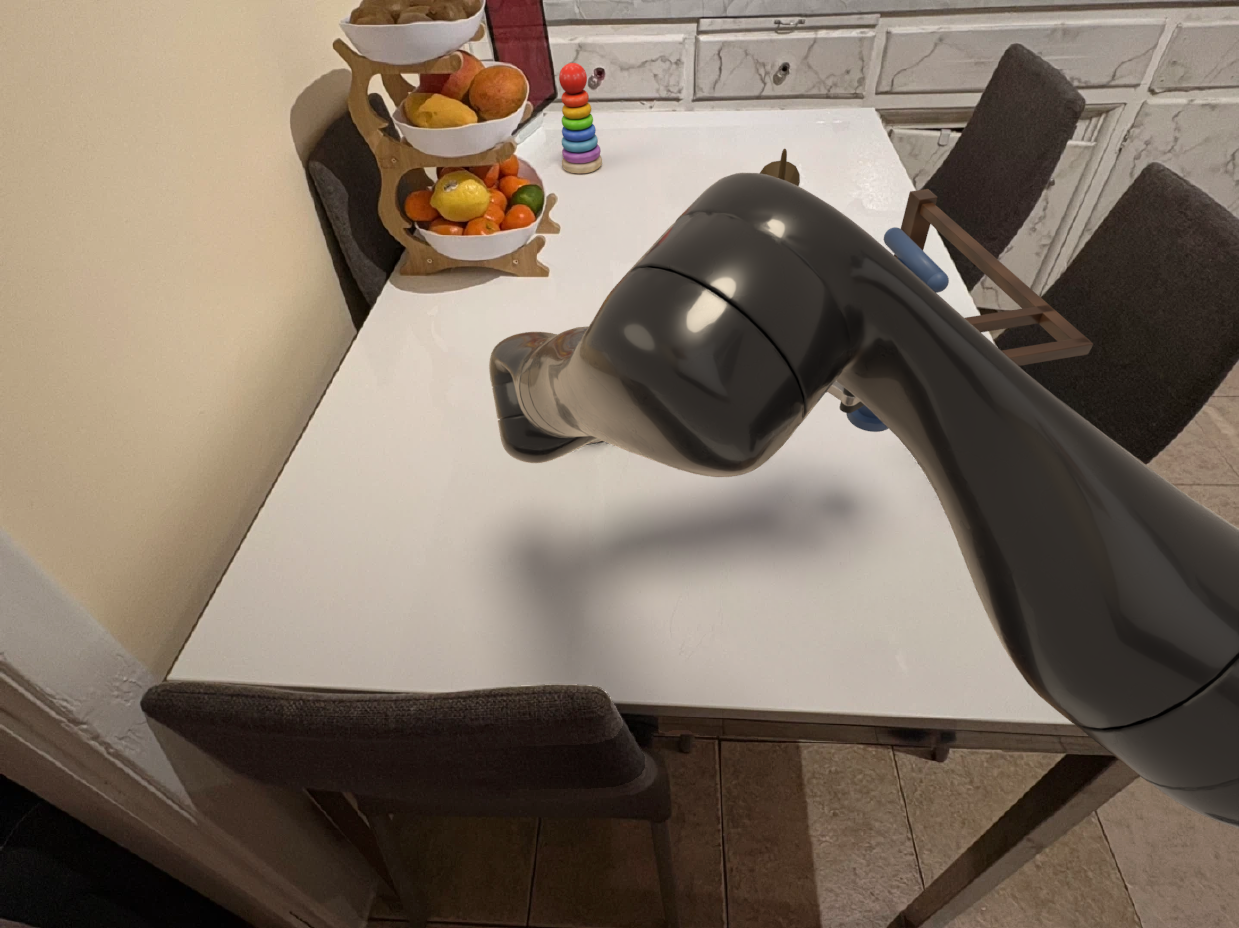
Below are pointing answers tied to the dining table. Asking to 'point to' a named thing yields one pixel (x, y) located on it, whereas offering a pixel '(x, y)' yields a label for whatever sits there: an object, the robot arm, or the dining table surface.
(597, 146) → the stacking toy
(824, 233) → the robot arm
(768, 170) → the kendama
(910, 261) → the peg
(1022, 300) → the stand
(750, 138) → the dining table surface
